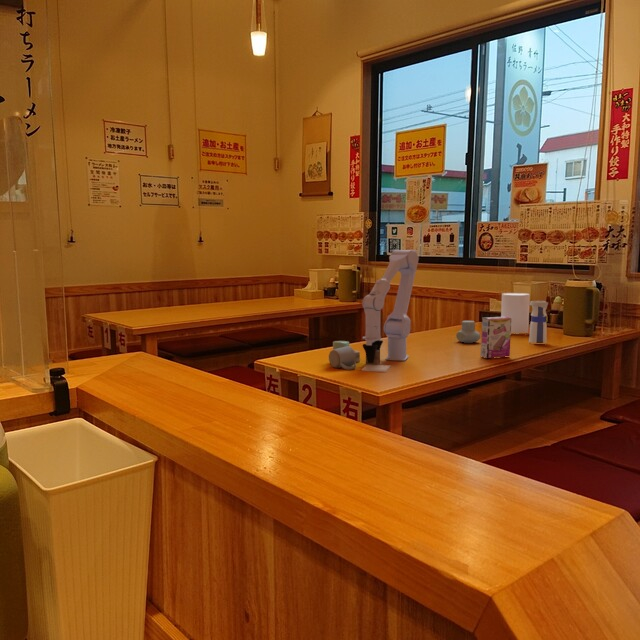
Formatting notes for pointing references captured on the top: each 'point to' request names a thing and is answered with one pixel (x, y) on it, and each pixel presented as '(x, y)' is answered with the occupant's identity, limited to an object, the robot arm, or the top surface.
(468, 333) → the air freshener
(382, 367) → the trivet
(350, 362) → the ceramic mug
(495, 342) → the candy bar box
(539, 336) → the water bottle
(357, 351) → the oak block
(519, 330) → the canister
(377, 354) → the walnut block
